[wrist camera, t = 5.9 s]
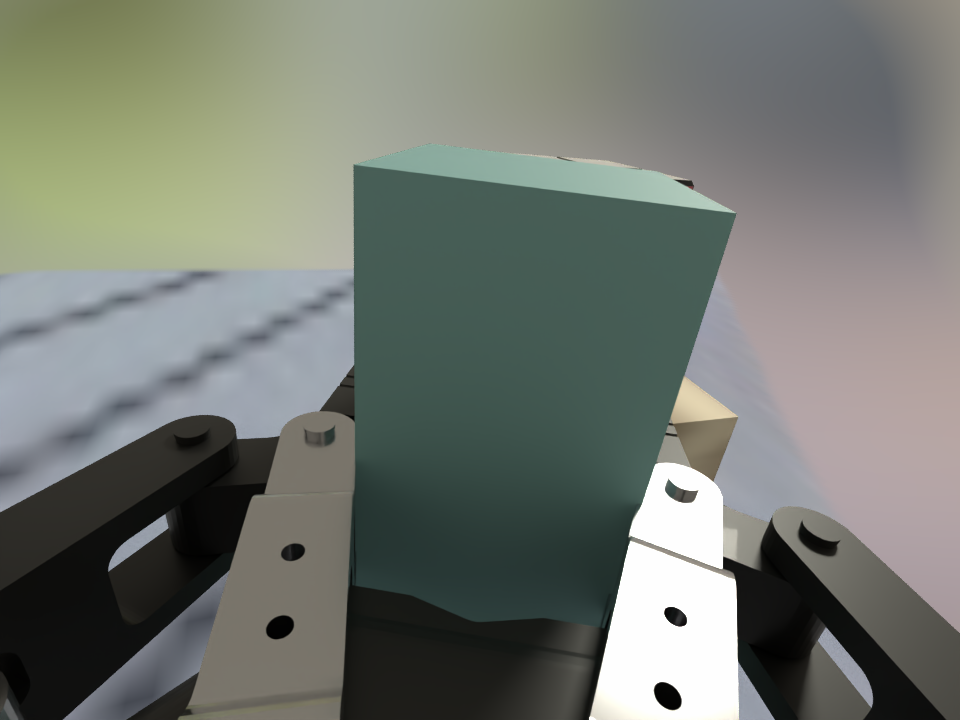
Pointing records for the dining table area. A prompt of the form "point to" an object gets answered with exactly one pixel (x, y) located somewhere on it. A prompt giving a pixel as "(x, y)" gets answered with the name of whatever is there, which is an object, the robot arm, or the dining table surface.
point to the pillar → (516, 370)
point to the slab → (702, 428)
